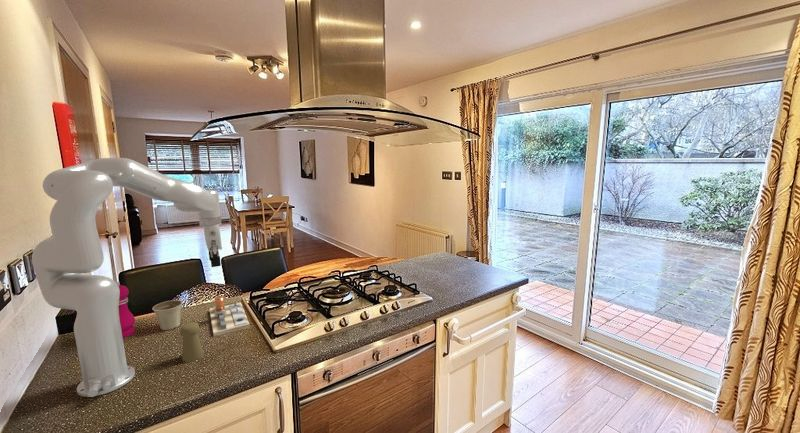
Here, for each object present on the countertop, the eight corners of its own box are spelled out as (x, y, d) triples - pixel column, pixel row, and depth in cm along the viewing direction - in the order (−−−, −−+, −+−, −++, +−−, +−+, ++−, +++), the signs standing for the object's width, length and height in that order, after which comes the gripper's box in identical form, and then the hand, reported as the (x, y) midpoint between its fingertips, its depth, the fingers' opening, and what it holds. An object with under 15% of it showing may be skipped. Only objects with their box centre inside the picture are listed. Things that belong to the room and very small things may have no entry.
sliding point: (238, 312, 136) (237, 295, 135) (216, 317, 132) (214, 300, 131) (237, 309, 139) (236, 292, 138) (215, 314, 135) (213, 297, 133)
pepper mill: (107, 336, 122) (98, 283, 119) (130, 327, 129) (123, 277, 125) (117, 341, 119) (108, 287, 116) (141, 332, 125) (133, 280, 122)
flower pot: (153, 326, 130) (150, 304, 128) (182, 318, 136) (179, 297, 135) (157, 335, 123) (153, 313, 121) (187, 326, 129) (184, 305, 128)
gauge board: (249, 327, 128) (249, 317, 127) (213, 336, 122) (212, 326, 121) (241, 304, 148) (240, 296, 147) (209, 311, 142) (208, 302, 141)
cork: (207, 354, 111) (204, 322, 109) (188, 363, 106) (184, 331, 104) (197, 349, 114) (193, 318, 112) (178, 358, 109) (173, 326, 107)
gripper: (223, 223, 128) (228, 267, 132) (218, 217, 143) (223, 256, 146) (200, 226, 124) (205, 270, 128) (198, 219, 139) (203, 259, 142)
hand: (215, 263), depth 137 cm, fingers open, 9 cm apart
